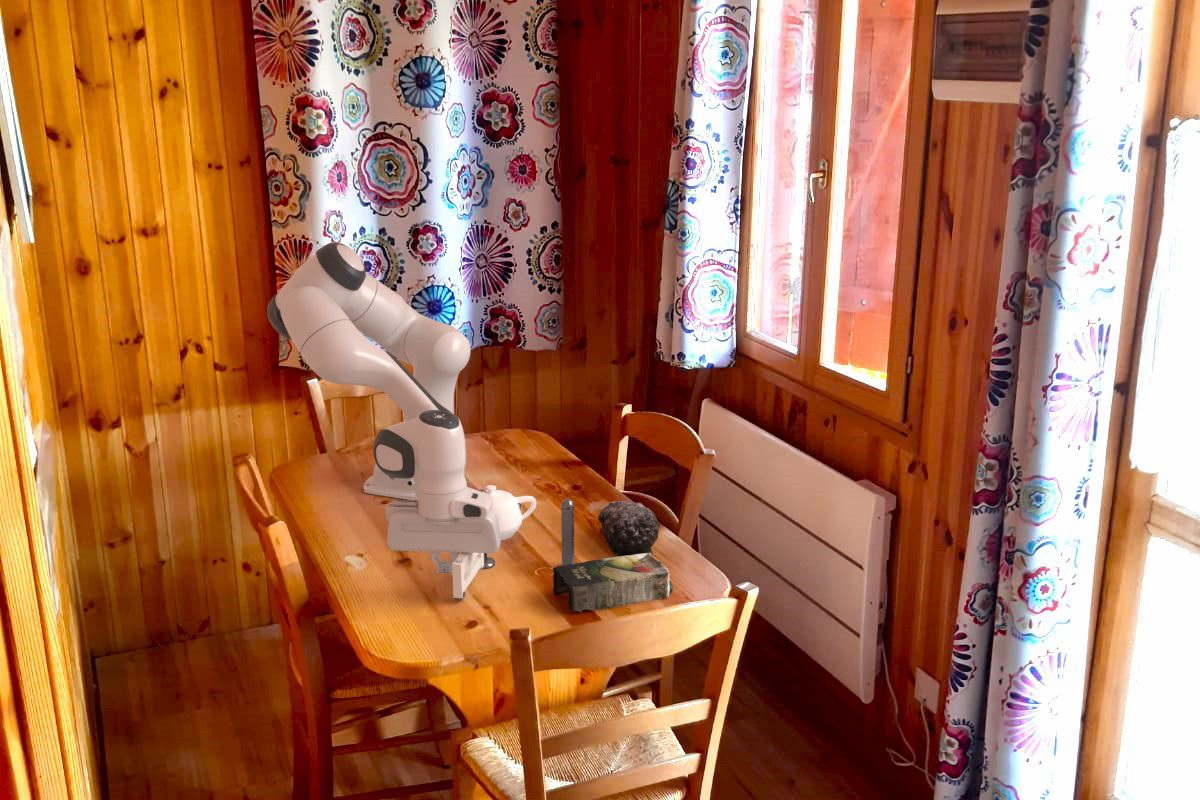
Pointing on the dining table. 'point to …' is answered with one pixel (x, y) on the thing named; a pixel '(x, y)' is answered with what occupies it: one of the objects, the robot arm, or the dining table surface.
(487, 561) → the hinge post
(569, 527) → the latch post
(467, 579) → the gate
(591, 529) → the dining table surface
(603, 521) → the pine cone
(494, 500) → the teapot
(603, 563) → the juice carton
